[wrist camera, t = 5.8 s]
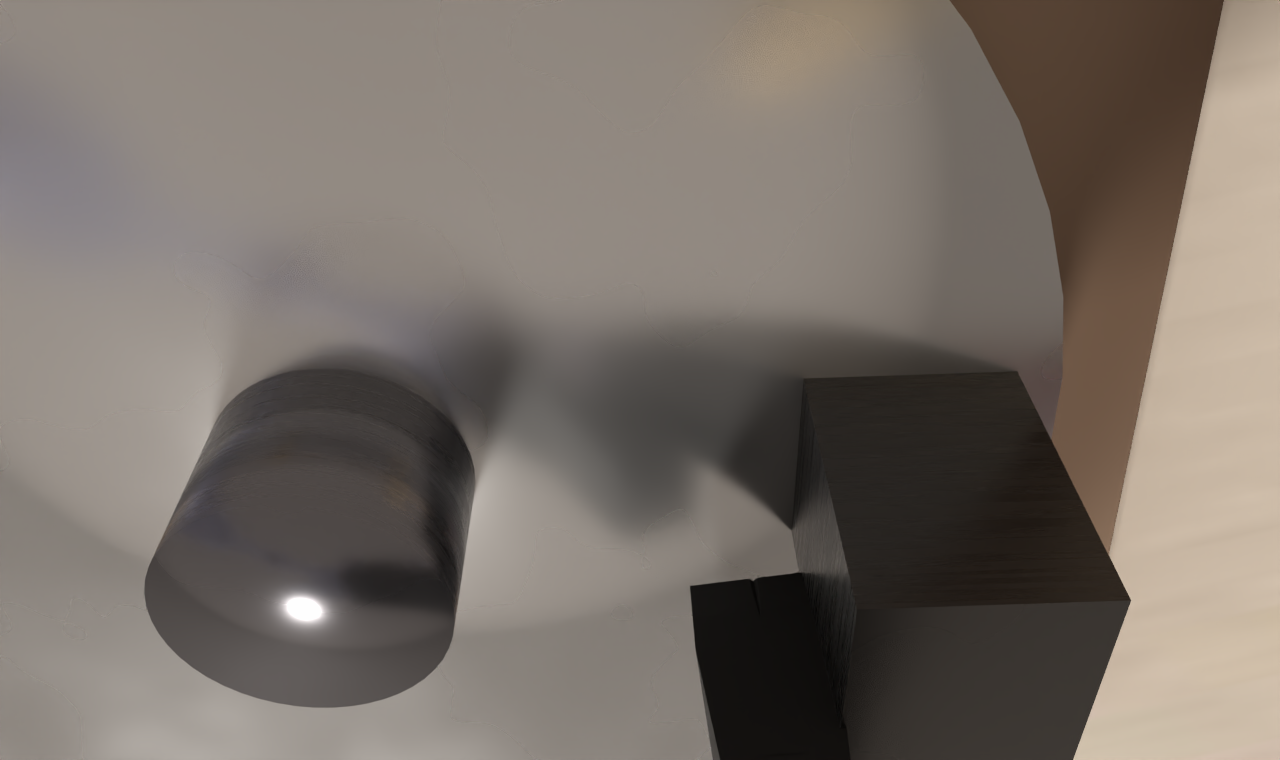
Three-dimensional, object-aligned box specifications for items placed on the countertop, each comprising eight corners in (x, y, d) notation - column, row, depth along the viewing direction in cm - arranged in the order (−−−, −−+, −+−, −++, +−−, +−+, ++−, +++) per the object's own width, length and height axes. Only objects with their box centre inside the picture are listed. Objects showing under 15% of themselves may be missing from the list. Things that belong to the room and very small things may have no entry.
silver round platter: (927, 758, 16) (1005, 1057, 13) (-25, 789, 16) (-184, 1096, 13) (1263, -719, 7) (1861, -974, 3) (-1022, -640, 7) (-2524, -819, 3)
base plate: (57, 806, 19) (-51, 1047, 16) (-1100, -654, 8) (-2227, -794, 5) (1027, 724, 18) (1111, 961, 15) (1324, -1070, 7) (1906, -1583, 4)
